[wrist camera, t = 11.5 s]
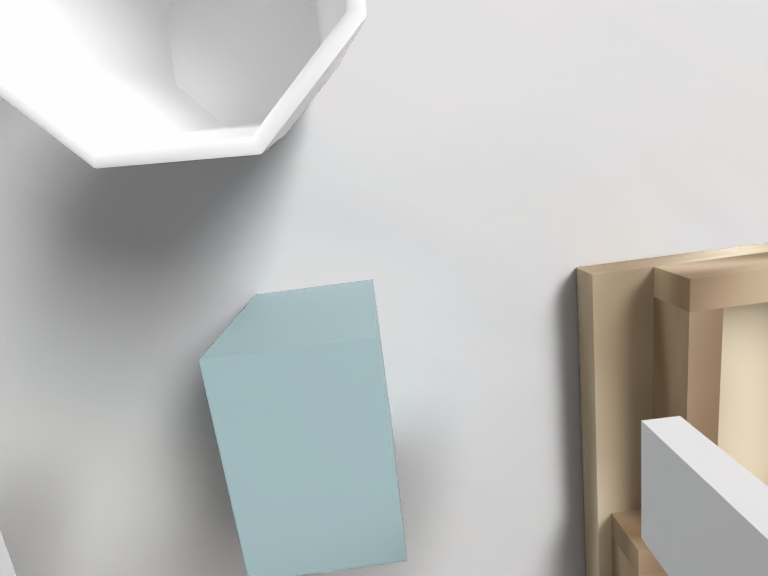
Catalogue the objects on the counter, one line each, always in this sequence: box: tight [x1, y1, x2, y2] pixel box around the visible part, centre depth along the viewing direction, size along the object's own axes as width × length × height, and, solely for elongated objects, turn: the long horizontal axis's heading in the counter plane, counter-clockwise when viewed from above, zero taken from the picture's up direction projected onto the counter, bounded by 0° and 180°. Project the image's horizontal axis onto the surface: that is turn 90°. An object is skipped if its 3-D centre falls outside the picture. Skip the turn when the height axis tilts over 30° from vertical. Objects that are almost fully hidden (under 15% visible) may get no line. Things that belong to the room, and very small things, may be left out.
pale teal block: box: [199, 280, 407, 576], centre depth 15 cm, size 4×6×6 cm, turn 7°
